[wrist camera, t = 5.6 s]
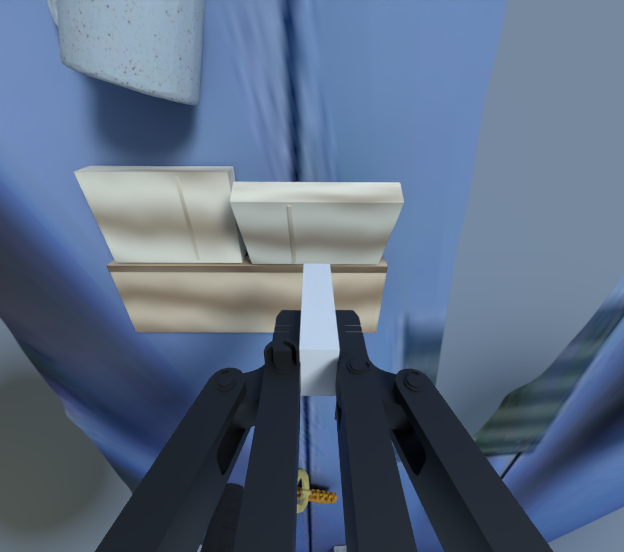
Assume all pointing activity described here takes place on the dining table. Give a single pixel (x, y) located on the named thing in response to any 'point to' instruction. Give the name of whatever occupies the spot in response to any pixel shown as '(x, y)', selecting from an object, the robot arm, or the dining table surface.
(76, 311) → the dining table surface
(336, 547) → the coffee box
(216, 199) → the plank
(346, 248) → the plank
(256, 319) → the laid board
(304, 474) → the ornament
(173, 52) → the ceramic mug
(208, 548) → the drinking cup
